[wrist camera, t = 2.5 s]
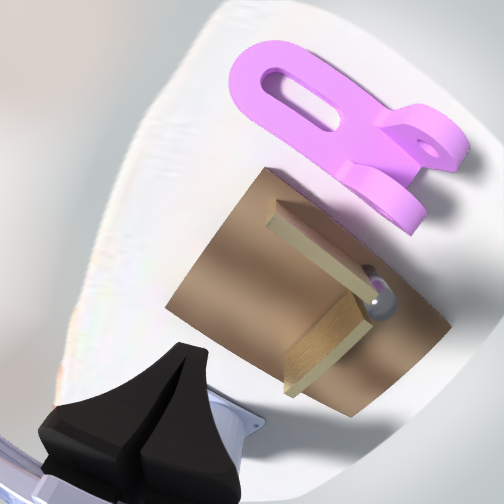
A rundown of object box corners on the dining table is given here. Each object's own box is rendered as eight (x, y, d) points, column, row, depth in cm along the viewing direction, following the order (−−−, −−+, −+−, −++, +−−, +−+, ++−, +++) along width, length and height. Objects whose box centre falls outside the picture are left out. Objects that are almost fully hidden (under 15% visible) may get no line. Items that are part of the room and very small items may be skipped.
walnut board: (349, 410, 25) (351, 417, 24) (169, 301, 22) (164, 307, 21) (447, 321, 21) (452, 327, 20) (264, 167, 19) (264, 167, 18)
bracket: (423, 150, 17) (481, 154, 11) (378, 213, 19) (421, 244, 13) (263, 33, 16) (256, -18, 9) (215, 98, 18) (182, 73, 11)
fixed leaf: (365, 294, 20) (382, 326, 16) (263, 215, 19) (258, 234, 15) (382, 274, 19) (404, 303, 15) (281, 192, 18) (281, 204, 14)
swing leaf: (283, 355, 22) (283, 393, 18) (349, 288, 19) (363, 319, 16) (292, 361, 22) (293, 398, 18) (358, 294, 20) (373, 326, 16)
